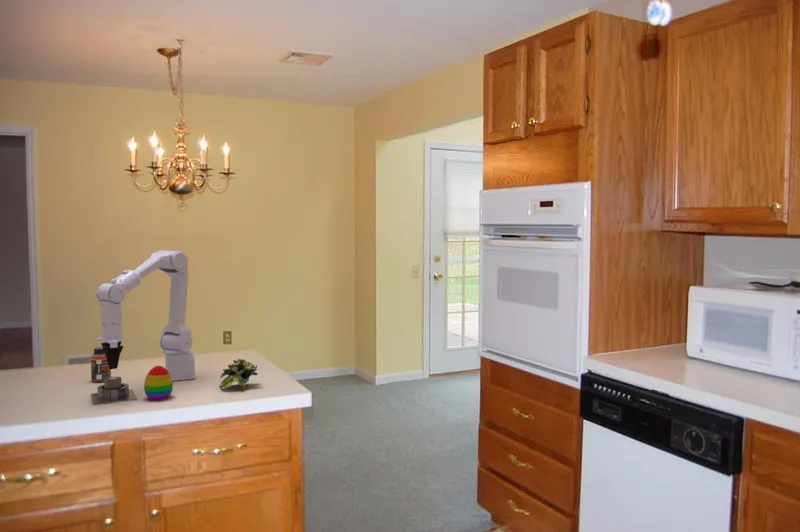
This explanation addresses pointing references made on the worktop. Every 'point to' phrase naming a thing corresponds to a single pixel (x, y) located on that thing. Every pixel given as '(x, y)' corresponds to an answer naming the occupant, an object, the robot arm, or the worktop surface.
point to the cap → (112, 383)
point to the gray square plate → (113, 394)
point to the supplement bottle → (99, 365)
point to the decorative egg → (158, 384)
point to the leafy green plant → (238, 373)
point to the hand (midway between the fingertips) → (112, 366)
